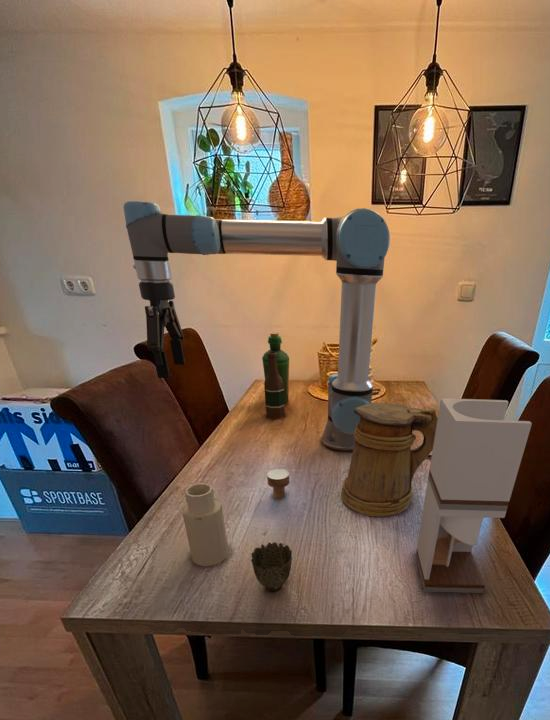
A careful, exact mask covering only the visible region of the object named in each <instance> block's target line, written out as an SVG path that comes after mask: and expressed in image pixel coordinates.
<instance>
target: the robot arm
mask: <svg viewBox="0 0 550 720" xmlns="http://www.w3.org/2000/svg"><path fill="white" fill-rule="evenodd" d="M123 212H124V220H125V228H126V231H127V236H128V240H129V245H130V248H131V254H132V258H133V263H134V264H133V266H132V267H133V269H134V270H135V272H136V277H137V280H140V281H139V282H138V287H139V293H140V297H141V299H142V300H145V301H149V305H144V311H145V319H146V324H145V325H146V346H147V347H146V349H147V351H148V352H152V355H153V356H152V357H153V360H154V366H155V370H156V375H157V378H158V379H170V378H171V374H170V369H169V365H168V359H167V354H166V350H164V341H165V340H164V339H165V329H166V331H167V334H168V335H169V336H170V337H169V338H170V339H169V342H170V350H171V355H172V360H173V364H174V366H184V365H186V359H185V355H184V349H183V342H182V340H185V335H184V333H183V330H182V329H183V328H182V327H181V323H180V321H179V320H180V319H179V318H178V315H177V311H176V309H175V302H174V301H173V300H175V298H176V295H175V288H174V284H173V283H172V282H171V281H172V279H173V277H172V270H171V265H170V261H169V260H170V259H169V255H168V254H169V253H170V254H184V255H185V254H187V255H202V256H209V255H255V256H256V255H263V256H265V255H266V256H269V255H270V256H309V257H310V256H311V257H322V258H323V260H325V261H333V262H334V261H335V262H336V267H335V275H336V276H337V277H338V278H339V280H340V281H341V289H340V290H341V291H340V293H341V296H340V312H339V313H340V314H339V315H340V316H339V335H338V336H339V337H338V361H337V373H332V374H330V375H328V379H327V381H328V382H327V421H326V424H325V428H324V429H323V432H322V436H321V441H322V444H323V445H324V447H327V448H328V449H331V450H334V451H339V452H340V451H341V452H353V449H354V444H355V439H354V432H355V428H356V425H357V424H358V423H359V421H360V416H359V415H357V414H356V413H354V410H355V409H356V408H357V407H360V406H363V405H366V404H369V403H373V402H372V400H373V388H374V384H373V383H372V382H371V381H370V380H369V374H370V373H369V372H370V360H371V351H372V349H371V348H372V337H373V326H374V325H373V324H374V312H375V301H376V289H377V288H376V287H377V284H378V283H379V281H381V280H382V279H383V277H384V267H385V257H386V256H387V254H388V252H389V248H390V242H391V241H390V240H391V235H390V230H389V227H388V223H387V222H386V220H385V218H383V216H382V215H381V214H380V213H378V212H377V211H375V210H373V209H370V208H367V207H363V208H355V209H353V210H350V211H349V212H348V213H347V214H346V215H343V216H338V217H324V218H323V219H322V221H287V220H286V221H285V220H281V221H280V220H243V219H242V220H241V219H216V218H214V217H212V216H207V215H201V214H196V215H194V214H193V215H191V214H189V215H188V214H165V213H162V211H161V207H160V206H159V204H157V203H155V202H150V201H147V202H146V201H138V200H137V201H136V200H135V201H133V200H132V201H131V200H130V201H129V200H128V201H125V202H124V204H123ZM431 457H432V454H429V455H428V457H427V458H430V459H431Z"/></svg>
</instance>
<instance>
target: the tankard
mask: <svg viewBox="0 0 550 720" xmlns="http://www.w3.org/2000/svg"><path fill="white" fill-rule="evenodd" d="M354 413H356V414H357V415H359V416H360V421H359V423H358V424H357V425H356V428H355V432H354V439H355V444H354V449H353V451H352V453H351V459H350V463H349V467H348V472H347V476H346V477H345V479H344V480H343V485H342V488H341V493H340V496H341V499H342V501H343V503H344V504H345V505H346V506H347V507H348V508H350V509H351V510H353V511H354V512H356V513H360V514H362V515H365V516H371V517H388V516H394V515H399V514H401V513H402V512H405V511H406V510H407V509H408V508H409V507H410V506H411V503H412V499H413V497H414V492H413V490H414V489H413V485H412V483H413V479H414V476H415V474H416V472H417V470H418V469H419V467H420V466H421V465H422V463H423V462H424V461H425V460H427V458H429V457H428V455H431V454H432V451H433V445H434V439H435V432H436V426H437V420H438V414H437V410H436V409H435V408H433V407H429V408H419V407H418V408H416V407H409V406H404V405H400V404H394V403H384V402H371V403H369V404H366V405H363V406H360V407H357V408H356V409H355V410H354ZM413 431H416V432H417V431H418V432H420V433H421V434H422V435H423V438H422V439H423V441H422V443H421V445H420V446H418V447H417V448H413V449H411V448H412V446H413V445H414V442H415V441H416V440H417V435H415V434H414V433H413Z"/></svg>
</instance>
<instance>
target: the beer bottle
mask: <svg viewBox="0 0 550 720" xmlns="http://www.w3.org/2000/svg"><path fill="white" fill-rule="evenodd" d="M267 356H268V375H267V377H266V378H265V377H264V383H263V385H264V386H263V387H264V401H265V402H264V403H265V413H266V417H267V418H269V419H271V420H272V419H273V420H278V419H279V420H280V419H282V418H284V417H286V404H285V400H284V385H283V381H282V378H281V377H280V375H279V373H278V366H277V353H276V352H268V354H267Z"/></svg>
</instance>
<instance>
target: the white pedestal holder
mask: <svg viewBox="0 0 550 720" xmlns="http://www.w3.org/2000/svg"><path fill="white" fill-rule="evenodd" d="M509 403H510V402H509V401H508V400H506V399H504V400H503V399H480V398H479V399H476V398H451V397H450V398H449V397H448V398H445V397H441V398H440V401H439V408H438V414H437V418H438V420H437V426H436V432H435V439H434V445H433V450H432V451H431V455H432V457H431V458H430V465H429V471H428V476H427V481H426V482H427V483H426V489H425V496H424V502H423V507H422V514H421V521H420V526H419V533H418V538H417V546H416V551H415V558H416V561H417V567H418V570H419V575H420V579H421V584H422V588H423V592H425V593H426V592H427V593H464V594H465V593H468V594H469V593H471V594H483V593H484V590H485V587H486V584H485V582H484V579H483V577H482V575H481V572H480V570H479V567H478V565H477V563H476V560H475V558H474V556H473V553H472V549H473V546H477V544H478V540H479V537H480V533H481V529H482V524H483V522H484V521H483V520H484V518H493V519H505V517H506V515H507V511H508V507H509V503H510V500H511V498H512V493H513V491H514V487H515V483H516V480H517V476H518V473H519V469H520V466H521V463H522V460H523V456H524V452H525V449H526V445H527V442H528V438H529V435H530V432H531V428H532V424H533V423H532V422H531V421H530V420H505V419H506V414H507V410H508V405H509Z"/></svg>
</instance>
